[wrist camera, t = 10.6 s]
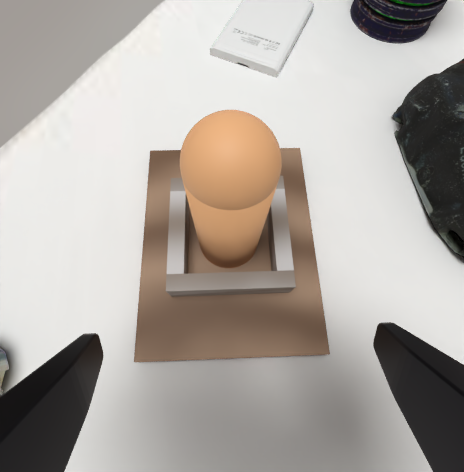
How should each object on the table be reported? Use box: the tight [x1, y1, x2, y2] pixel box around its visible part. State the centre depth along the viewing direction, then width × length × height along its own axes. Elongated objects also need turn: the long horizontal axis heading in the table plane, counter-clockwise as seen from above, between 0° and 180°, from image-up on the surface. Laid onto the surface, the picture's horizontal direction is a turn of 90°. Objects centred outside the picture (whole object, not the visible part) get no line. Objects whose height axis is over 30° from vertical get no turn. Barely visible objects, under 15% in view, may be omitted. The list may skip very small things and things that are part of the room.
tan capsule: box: [180, 110, 282, 268], centre depth 17 cm, size 5×5×13 cm
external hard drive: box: [210, 0, 314, 77], centre depth 34 cm, size 2×8×12 cm
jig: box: [134, 148, 330, 362], centre depth 23 cm, size 18×14×3 cm
